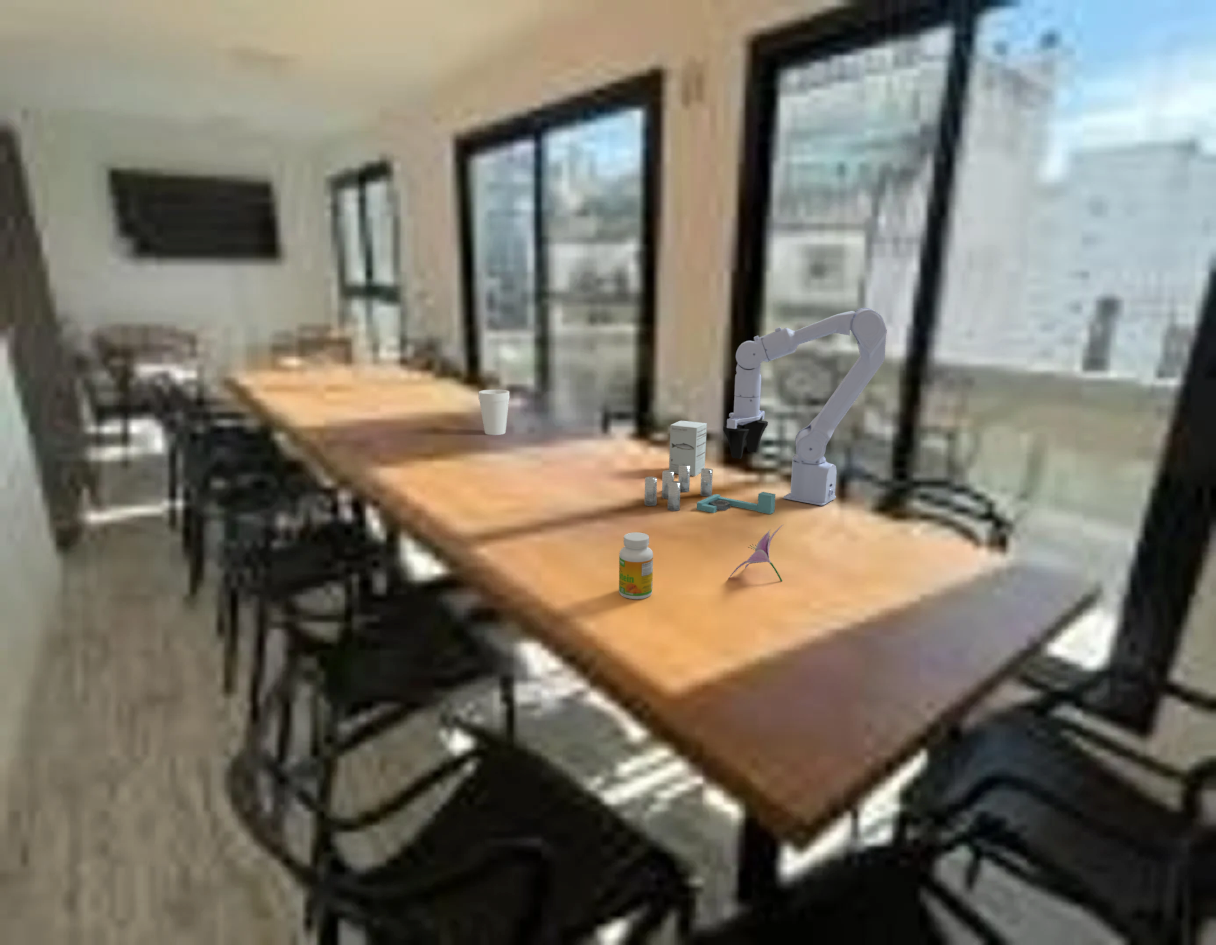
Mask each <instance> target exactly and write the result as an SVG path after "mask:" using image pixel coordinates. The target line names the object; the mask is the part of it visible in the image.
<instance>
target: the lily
mask: <svg viewBox="0 0 1216 945" xmlns="http://www.w3.org/2000/svg"><path fill="white" fill-rule="evenodd" d="M783 526H784V524H782V525H781V526H779V527H778V528H777V529H776V530H775V531H774V532H773V533H772V534H771V533H770V532H771V530H772V528H771V529H769V530H768V531H767V532H766V533H765V534H764V535H763V536H762V537H761V538H760V540H759V541H758V543H757V544H755V545H754V544H753V543H751V544H752V545H751V544H750V545H749V546H747V548H749V549H751V550H753V551H754V552H753V553H752V554H751V555H750V557H749V558H748V559H747V560H745V561H743V562H742V563H740V564H739V565H737V567H736V568H735V569H734V570H733V572H732V573H731V574H730V575H729V577H728V580H729V579H730V578H731V577H732V576H733V575H734V574H735V573H736V572H737V570H739V569H740V568H741V567H742V566H744V565H745V564H746V565H745V567H744V568H745V569H746V568H748V566H749V565H751V564H758V563H759V564H760V563H768V564H770V566H771V567H772V569H773V570H774V571H775V573H776V575H777V577H778V579H779V581H780V583H781V582H783V579H782V577H781V575H780V573H779V572H778V570H777V568H776V566H774V564H773V562H772V561H771V560H770V545H771V542H772V539H773V538H774V537H775V535H776V533H777V532H778V531H779V530H781V528H782V527H783ZM770 534H771V535H770Z"/></svg>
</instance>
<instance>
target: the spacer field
mask: <svg viewBox="0 0 1216 945" xmlns="http://www.w3.org/2000/svg"><path fill="white" fill-rule="evenodd" d="M713 472H714V470H713V469H712V468H708V467H707V468H706V467H705V468H703V469H701V473H700V492H699V494H700V496H702V497H706V498H708V497H710V496H712V495H713ZM661 476H662V481H661V485H662V486H661V498H662V499H665V500H667V510H668V511H670V512H678V511H680V508H681V507H680V506H681V493H688V492H690V481H691V476H690V465H686V464H682V465H679V474H678V481H677V480H675V473H674V471H670V470H669V469H667V470H666V469H665V470H663V471H662V475H661ZM657 490H658V478H657V477H655V476H646V477H644V505H645V506H646V507H647V506H648V507H655V506H657V495H658V494H657V492H658V491H657Z"/></svg>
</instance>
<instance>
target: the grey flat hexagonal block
mask: <svg viewBox="0 0 1216 945" xmlns="http://www.w3.org/2000/svg"><path fill="white" fill-rule="evenodd" d="M709 505H712V506H717V509H716V511H722V512H723V511H727V510H729V509H731V506H730V503H729V502H727V501H725V500H713V501H711V502H709Z"/></svg>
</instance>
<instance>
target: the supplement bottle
mask: <svg viewBox="0 0 1216 945" xmlns="http://www.w3.org/2000/svg"><path fill="white" fill-rule="evenodd" d="M649 545H650V535H649V534H647V533H644V532H643V533H642V532H629V533H626V534H624V535H623V546H624V547H622V548H621V549H620V550H619V554H618V557H619V558H618V560H619V561H618V564H619V565H618V568H619V569H618V579H619V580H618V593H619V595H621V596H622V597H623V598H626V599H628V600H629V599H630V600H643V599H647V598H649V597H651V595H652V593H653V577H654V574H653V573H654V572H653V570H654V568H653V567H654V552H653V550H652V549H651V548H650V547H649Z"/></svg>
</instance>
